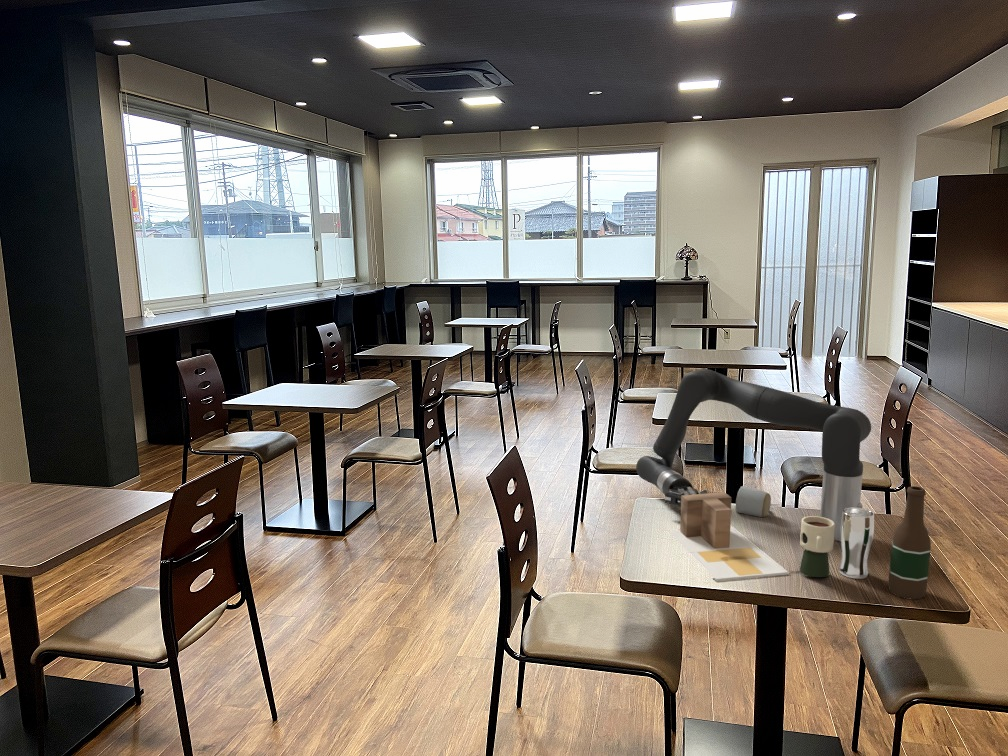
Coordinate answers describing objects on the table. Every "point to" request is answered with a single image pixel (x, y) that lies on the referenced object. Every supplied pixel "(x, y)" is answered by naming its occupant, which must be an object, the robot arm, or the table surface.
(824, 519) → the character mug
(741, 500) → the grey cylinder
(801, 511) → the table surface
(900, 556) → the beer bottle
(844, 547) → the beer glass
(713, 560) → the board
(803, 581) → the table surface
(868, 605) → the table surface
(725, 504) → the t block
